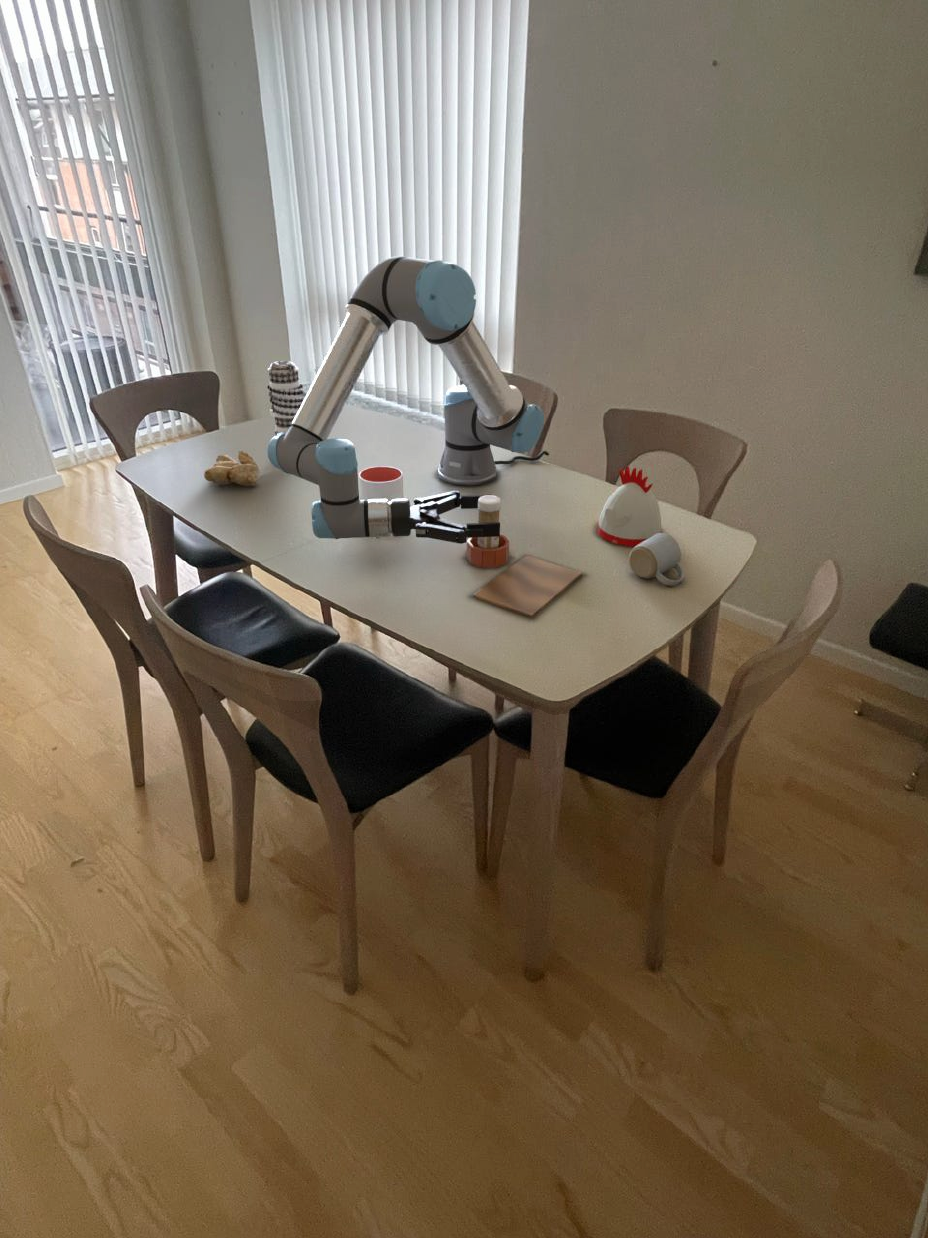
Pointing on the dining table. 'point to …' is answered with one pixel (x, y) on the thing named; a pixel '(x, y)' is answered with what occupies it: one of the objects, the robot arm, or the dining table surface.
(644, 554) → the ceramic mug
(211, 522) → the dining table surface
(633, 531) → the kitchen timer
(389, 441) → the dining table surface
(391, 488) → the cup
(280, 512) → the dining table surface
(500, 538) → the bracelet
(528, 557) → the wooden board
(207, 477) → the ginger root
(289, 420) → the patterned tall cylinder
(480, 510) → the sprinkles bottle
